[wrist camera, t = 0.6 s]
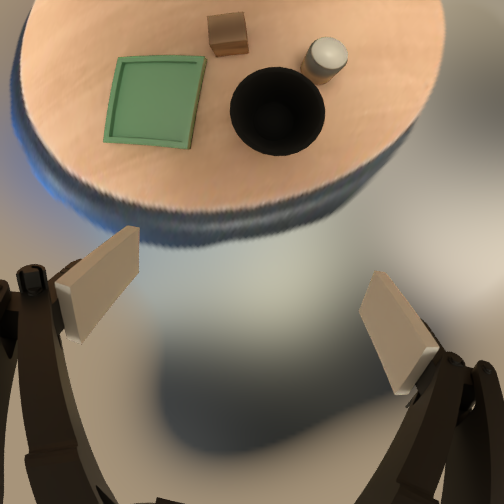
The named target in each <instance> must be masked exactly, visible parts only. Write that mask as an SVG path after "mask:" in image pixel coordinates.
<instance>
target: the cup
mask: <svg viewBox="0 0 504 504" xmlns="http://www.w3.org/2000/svg"><path fill="white" fill-rule="evenodd" d="M230 116H231V121H232V125H233V127H234V129H235V131H236V133H237V135H238V136H239V137H240V138H241V139H242V141H243V142H244V143H246V144H247V145H248V146H250V147H251V148H252V149H254V150H256V151H258V152H261V153H263V154H267V155H273V156H287V155H290V154H294V153H298V152H299V151H301V150H303V149H305V148H307V147H308V146H309V145H310V144H311V143H312V142H313V141H315V139H316V138H317V136H318V135H319V133H320V132H321V130H322V127H323V124H324V120H325V107H324V102H323V98H322V96H321V94H320V92H319V90H318V88H317V87H316V86H315V85H314V84H313V82H312V81H311V80H310V79H308V78H307V77H306V76H304V75H303V74H301V73H299V72H297V71H295V70H292V69H288V68H283V67H268V68H265V69H261V70H258V71H256V72H254V73H252V74H250V75H248V76H247V77H246V78H245V79H244V80H243V81H242V82H240V84H239V85H238V87H237V88H236V90H235V91H234V93H233V96H232V99H231V103H230Z"/></svg>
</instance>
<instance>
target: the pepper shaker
mask: <svg viewBox="0 0 504 504" xmlns="http://www.w3.org/2000/svg"><path fill="white" fill-rule="evenodd" d="M347 59H348V52H347V49H346V47H345V46H344V45H343V44H342V43H341V42H340V41H339V40H337V39H335V38H331V37H323V38H320V39H317V40H315V41H314V42H313V43H312V44H311V46H310V48H309V50H308V52H307V54H306V56H305V58H304V60H303V62H302V64H301V73H302V74H303V75H304V76H306V77H307V78H308V79H310V80H311V81H312V82H313V84H316V85H321V84H325V83H327V82H328V81H329V80H330V79H331V78H332V77H333V76H335V75H336V74H337V73H338V72H339V71H340V70H341V69H342V68H343V67H344V66H345V65H346V63H347Z"/></svg>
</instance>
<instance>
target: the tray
mask: <svg viewBox="0 0 504 504" xmlns="http://www.w3.org/2000/svg"><path fill="white" fill-rule="evenodd" d="M206 63H207V59H206V58H205V56H184V55H152V56H130V57H118V60H117V64H116V69H115V73H114V78H113V82H112V87H111V93H110V98H109V104H108V110H107V116H106V123H105V131H104V139H103V142H105V143H124V144H138V145H151V146H161V147H171V148H180V149H190V148H191V142H192V135H193V129H194V124H195V118H196V112H197V107H198V102H199V96H200V91H201V86H202V81H203V77H204V72H205V67H206Z"/></svg>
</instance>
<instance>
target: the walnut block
mask: <svg viewBox="0 0 504 504" xmlns="http://www.w3.org/2000/svg"><path fill="white" fill-rule="evenodd" d="M207 18H208V33H209V45H210V47H211V48H212V50H213V52H214V53H215V55H216V57H220V56H227V55H236V54H246V53H249V50H248V40H247V31H246V23H245V18H244V12H237V13H228V14H221V15H214V16H207Z"/></svg>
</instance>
